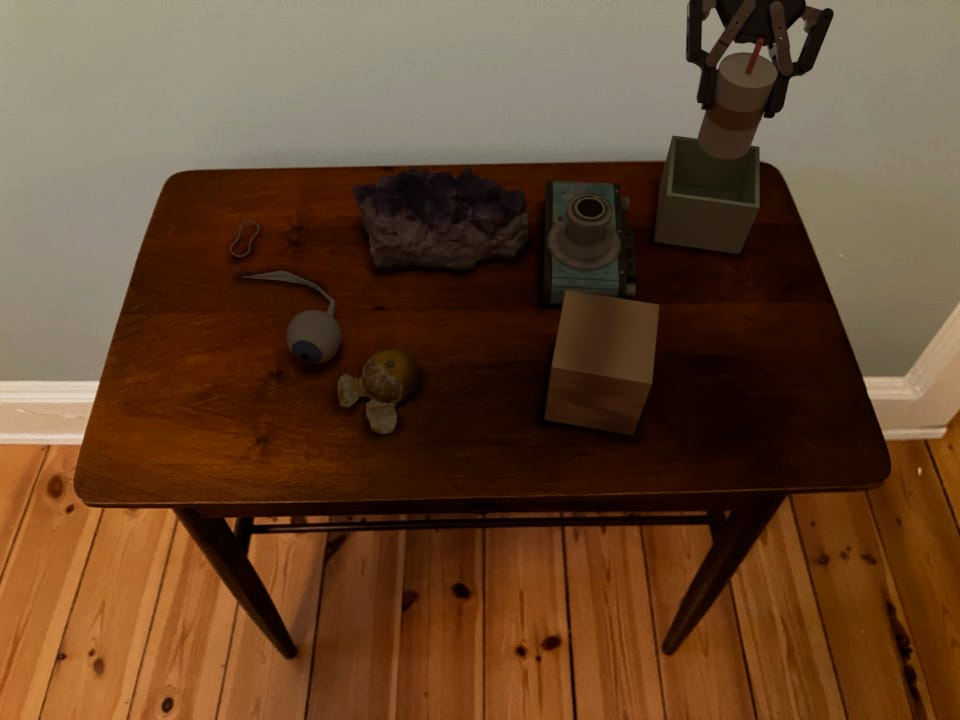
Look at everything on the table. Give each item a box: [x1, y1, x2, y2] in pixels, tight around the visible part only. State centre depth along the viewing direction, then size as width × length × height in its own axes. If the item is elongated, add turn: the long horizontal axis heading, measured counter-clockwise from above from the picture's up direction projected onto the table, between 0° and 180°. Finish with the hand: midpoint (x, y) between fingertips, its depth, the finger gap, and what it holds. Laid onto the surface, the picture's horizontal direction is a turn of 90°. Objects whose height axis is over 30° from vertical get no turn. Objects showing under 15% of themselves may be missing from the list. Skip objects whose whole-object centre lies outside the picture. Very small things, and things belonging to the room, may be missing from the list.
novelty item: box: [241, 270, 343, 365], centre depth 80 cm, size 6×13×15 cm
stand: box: [543, 290, 660, 436], centre depth 72 cm, size 9×9×10 cm
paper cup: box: [697, 39, 777, 160], centre depth 75 cm, size 6×6×13 cm
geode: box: [352, 165, 530, 272], centre depth 84 cm, size 20×12×10 cm, turn 91°
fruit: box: [336, 349, 421, 435], centre depth 75 cm, size 8×8×4 cm
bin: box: [653, 135, 761, 255], centre depth 87 cm, size 10×10×8 cm
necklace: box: [229, 220, 261, 258], centre depth 87 cm, size 2×5×1 cm, turn 166°
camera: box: [542, 180, 637, 306], centre depth 83 cm, size 16×10×10 cm
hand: (737, 112), depth 75 cm, fingers closed on paper cup, 5 cm apart
